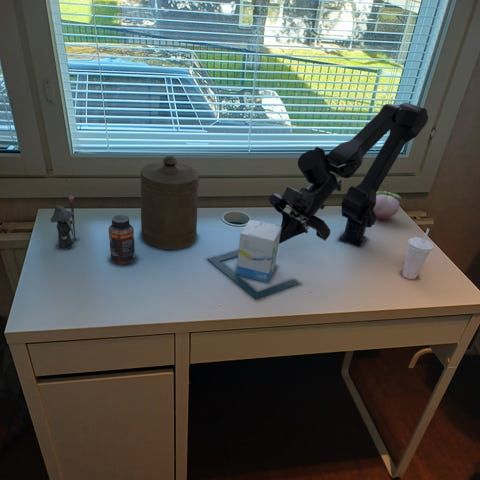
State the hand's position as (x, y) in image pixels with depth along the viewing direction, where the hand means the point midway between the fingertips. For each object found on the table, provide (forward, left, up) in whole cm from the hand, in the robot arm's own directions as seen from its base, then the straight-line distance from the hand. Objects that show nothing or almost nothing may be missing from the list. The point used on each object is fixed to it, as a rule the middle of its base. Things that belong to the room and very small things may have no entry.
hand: (277, 242), depth 119 cm
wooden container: (+4, -30, -7) cm, 31 cm away
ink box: (+5, -3, -7) cm, 9 cm away
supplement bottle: (+21, -32, -7) cm, 39 cm away
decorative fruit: (-48, +16, -7) cm, 51 cm away
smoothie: (-18, +32, -7) cm, 37 cm away
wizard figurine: (+24, -48, -7) cm, 54 cm away
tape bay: (+6, -3, -7) cm, 10 cm away
